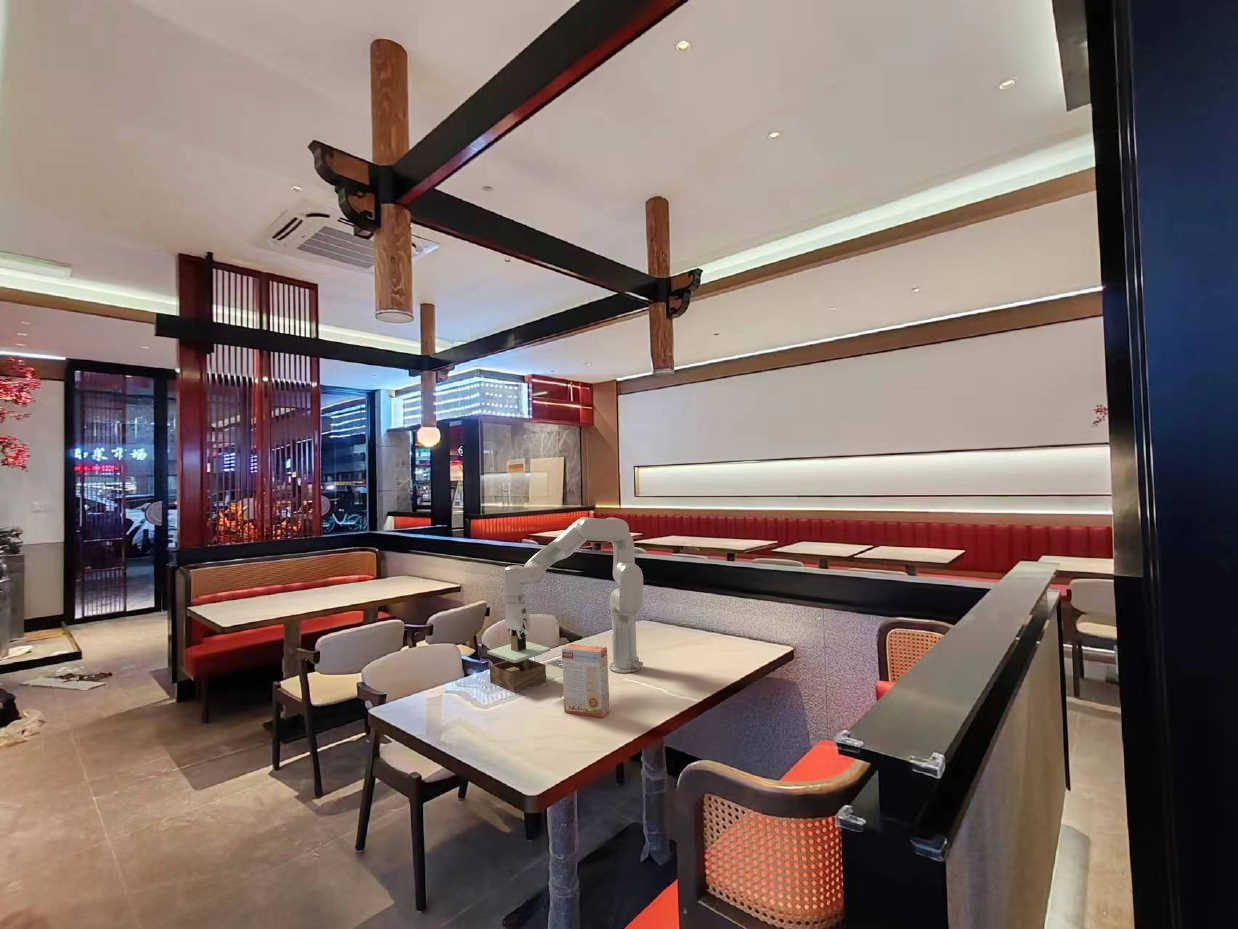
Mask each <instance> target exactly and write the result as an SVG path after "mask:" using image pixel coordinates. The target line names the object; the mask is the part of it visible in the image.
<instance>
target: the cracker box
mask: <svg viewBox="0 0 1238 929" xmlns="http://www.w3.org/2000/svg"><path fill="white" fill-rule="evenodd" d="M561 652H562V653H561V654H562V656H561V657H562V658H561V659H562V661H563V669H562V682H563V683H562V684H563V685H562V686H563V709H564V710H563V711H564V713H565V712H566V714H574V715H580V716H587V717H593V718H594V717H595V718H599V719H603V718H604V717H605V716H606V715H607V714H608V713H609V712H610V710H611V709H610V690H609V689H610V687H609V684H610V683H609V664H608V647H607V646H596V645H585V644H577V643H576V644H575V643H570V644H568V645H566V646H565V647H563V648H561Z"/></svg>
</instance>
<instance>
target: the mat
mask: <svg viewBox="0 0 1238 929" xmlns="http://www.w3.org/2000/svg"><path fill="white" fill-rule="evenodd" d="M557 662H558V663H557ZM561 662H562V663H561ZM546 664H547V665H551V666H553V667H557V668H559V669H562V670H563V665H559V664H563V661H561V660H558V659H555V660H552V661H548V662H546Z"/></svg>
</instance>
